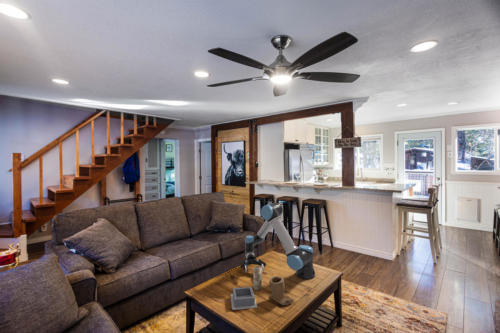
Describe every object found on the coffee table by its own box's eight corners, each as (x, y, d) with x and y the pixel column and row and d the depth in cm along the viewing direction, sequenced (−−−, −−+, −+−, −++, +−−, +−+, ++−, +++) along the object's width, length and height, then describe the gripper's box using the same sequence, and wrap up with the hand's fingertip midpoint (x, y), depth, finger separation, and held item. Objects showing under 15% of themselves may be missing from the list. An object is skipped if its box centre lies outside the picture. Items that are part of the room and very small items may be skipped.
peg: (260, 285, 178) (260, 265, 177) (262, 290, 172) (262, 269, 171) (252, 286, 177) (252, 266, 176) (254, 290, 171) (254, 270, 170)
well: (253, 293, 168) (253, 285, 168) (257, 307, 152) (257, 299, 152) (230, 295, 166) (230, 287, 165) (232, 309, 150) (232, 301, 150)
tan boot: (265, 298, 162) (265, 276, 161) (278, 292, 169) (278, 271, 168) (281, 310, 150) (281, 286, 149) (294, 303, 157) (294, 280, 156)
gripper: (265, 261, 207) (270, 273, 186) (236, 263, 204) (238, 275, 183) (265, 253, 207) (270, 264, 186) (236, 254, 203) (238, 266, 182)
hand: (255, 270), depth 184 cm, fingers open, 13 cm apart
